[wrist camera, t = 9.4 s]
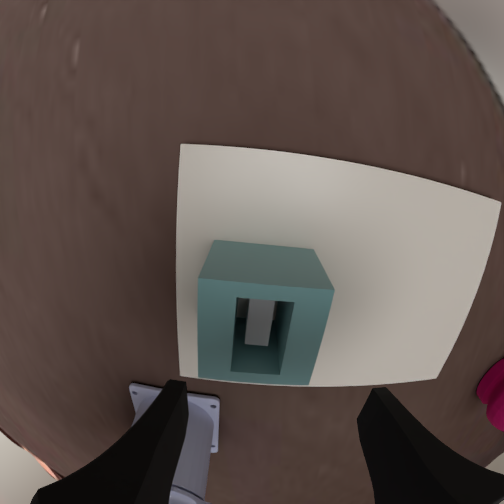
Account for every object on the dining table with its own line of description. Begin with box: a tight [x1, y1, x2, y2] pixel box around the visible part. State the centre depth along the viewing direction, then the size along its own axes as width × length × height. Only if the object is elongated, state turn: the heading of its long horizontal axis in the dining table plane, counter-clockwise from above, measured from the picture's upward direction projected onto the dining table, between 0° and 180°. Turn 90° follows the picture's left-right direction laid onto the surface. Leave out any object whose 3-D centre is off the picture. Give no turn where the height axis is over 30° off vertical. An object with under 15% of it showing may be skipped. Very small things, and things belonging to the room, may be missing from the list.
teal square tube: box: [197, 240, 335, 385], centre depth 15 cm, size 6×6×5 cm
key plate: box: [176, 144, 501, 387], centre depth 16 cm, size 16×22×5 cm
